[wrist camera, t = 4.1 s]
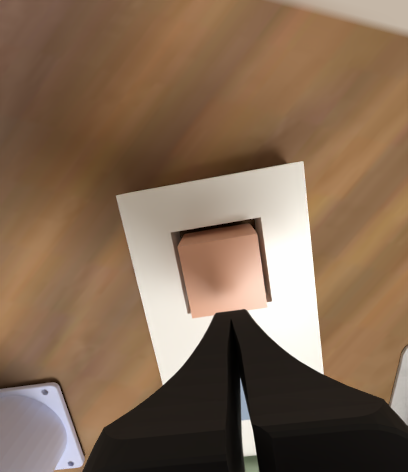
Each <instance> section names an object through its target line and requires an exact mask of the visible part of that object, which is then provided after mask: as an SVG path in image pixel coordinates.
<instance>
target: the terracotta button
mask: <svg viewBox="0 0 408 472" xmlns="http://www.w3.org/2000/svg"><path fill="white" fill-rule="evenodd" d="M178 252H179V257H180V262H181V266H182V271H183V276H184V281H185V286H186V290H187V295H188V300H189V305H190V310H191V315H192V318H199V317H205V316H212V315H215V313H218V312H226V311H234V310H241V309H246V310H254V309H261V308H268V307H267V300H266V293H265V286H264V279H263V272H262V264H261V257H260V250H259V243H258V236H257V233H256V231H255V230H254V229H253V227H252V226H251V224H250V223H246V224H240V225H234V226H228V227H222V228H216V229H210V230H204V231H198V232H192V233H186V234H184V235H183V237H182V239H181V241H180V243H179V245H178Z"/></svg>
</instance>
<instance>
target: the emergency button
mask: <svg viewBox="0 0 408 472" xmlns="http://www.w3.org/2000/svg"><path fill="white" fill-rule="evenodd" d="M389 406H390V407H391V408H392V409H393V410H394V411H395V412H396V413H397V414H398V415H399V416H400V418H401V419H402V420H403V421H404V422H405V423H406V425H407V426H408V346H406V347H405V348H404V350H403V351H402V353H401V358H400V362H399V366H398V370H397V374H396V378H395V383H394V387H393V391H392V395H391V399H390V403H389Z"/></svg>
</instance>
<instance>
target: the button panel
mask: <svg viewBox="0 0 408 472" xmlns="http://www.w3.org/2000/svg"><path fill="white" fill-rule="evenodd" d="M116 198H117V202H118V206H119V210H120V214H121V218H122V222H123V226H124V231H125V235H126V239H127V243H128V247H129V251H130V255H131V259H132V263H133V267H134V271H135V275H136V279H137V283H138V287H139V291H140V295H141V299H142V303H143V307H144V311H145V315H146V319H147V323H148V327H149V331H150V335H151V339H152V343H153V347H154V351H155V355H156V359H157V363H158V367H159V371H160V375H161V379H162V383H163V385H164V384H165V383H166V382H167V381H168V380H169V379H170V378H171V377H172V376H173V375H174V374H175V373H176V372H177V371H178V370H179V369H180V368H181V367H182V366H183V365H184V363H185V362H186V361H187V360H188V358H189V357H190V356H191V354H192V353H193V351H194V350H195V348H196V347H197V346H198V344H199V343H200V341H201V339H202V338H203V336H204V334H205V332H206V331H207V329H208V327H209V325H210V323H211V321H212V319H213V316H214V315H212V316H205V317H199V318H192V315H191V310H190V305H189V300H188V295H187V290H186V286H185V281H184V276H183V271H182V266H181V262H180V257H179V252H178V245H179V243H180V241H181V237H180V232H179V231H183V230H189V229H194V228H200V227H206V226H212V225H218V224H224V223H230V222H236V221H242V220H248V219H253V218H254V221H255V228H256V233H257V236H258V243H259V250H260V257H261V264H262V272H263V279H264V286H265V293H266V300H267V307H268V308H261V309H254V310H247V311H248V312H249V314H250V315H251V317H252V318H253V319H254V321H255V322H256V323H257V324H258V325H259V326H260V328H261V329H262V330H263V331H264V332H265V333H266V334H267V335H268V336H269V337H270V338H271V339H272V340H273V341H275V342H276V343H277V344H278V345H279V346H280V347H281V348H283V349H284V350H285V351H286V352H288V353H289V354H290V355H292V356H293V357H295V358H296V359H297V360H299V361H301V362H302V363H304V364H306V365H307V366H309V367H311V368H312V369H314V370H316V371H318V372H320V373H321V374H323V375H324V373H323V362H322V352H321V342H320V331H319V321H318V310H317V300H316V289H315V279H314V268H313V258H312V247H311V237H310V226H309V216H308V205H307V195H306V184H305V174H304V163H303V161H302V162H295V163H288V164H282V165H277V166H271V167H266V168H261V169H255V170H250V171H244V172H239V173H233V174H228V175H222V176H217V177H211V178H206V179H200V180H195V181H189V182H184V183H179V184H173V185H168V186H162V187H157V188H151V189H146V190H140V191H135V192H130V193H125V194H121V195H116ZM241 424H242V445H243V455H244V457H245V456H255V455H257V454H256V448H255V441H254V435H253V429H252V425H251V421H250V420H241Z"/></svg>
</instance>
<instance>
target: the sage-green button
mask: <svg viewBox="0 0 408 472" xmlns="http://www.w3.org/2000/svg"><path fill="white" fill-rule="evenodd" d="M244 464H245V472H259V467H258V461H257V455H255V456H245V457H244Z"/></svg>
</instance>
